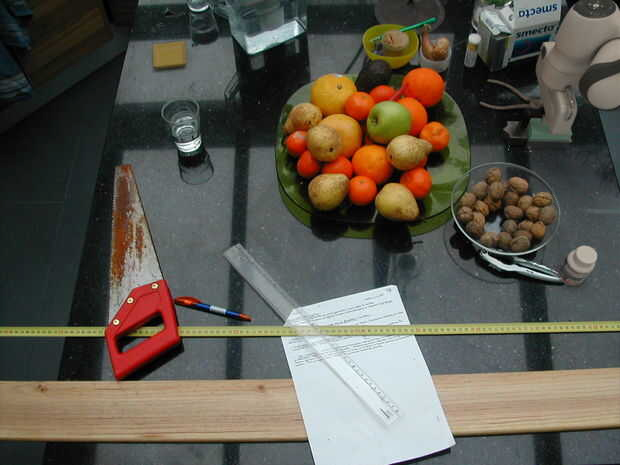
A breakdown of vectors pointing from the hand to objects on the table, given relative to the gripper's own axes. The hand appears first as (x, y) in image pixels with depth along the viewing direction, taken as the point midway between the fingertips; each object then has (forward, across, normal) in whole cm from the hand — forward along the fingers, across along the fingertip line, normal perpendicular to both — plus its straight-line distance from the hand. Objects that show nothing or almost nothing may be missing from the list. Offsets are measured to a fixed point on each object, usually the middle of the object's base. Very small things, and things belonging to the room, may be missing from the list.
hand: (543, 116), depth 129 cm
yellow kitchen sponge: (+8, +26, +92) cm, 96 cm away
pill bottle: (+8, -36, -2) cm, 37 cm away
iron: (+8, 0, 0) cm, 8 cm away
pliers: (+8, +12, +1) cm, 15 cm away
